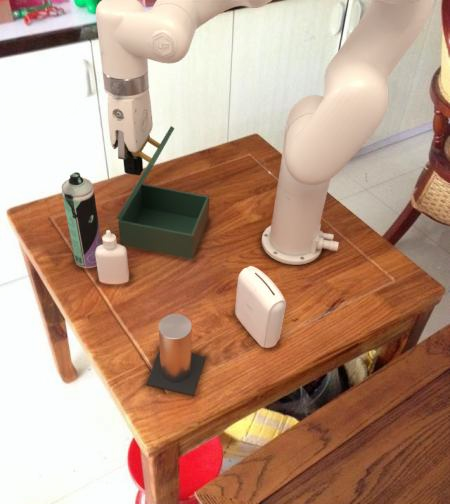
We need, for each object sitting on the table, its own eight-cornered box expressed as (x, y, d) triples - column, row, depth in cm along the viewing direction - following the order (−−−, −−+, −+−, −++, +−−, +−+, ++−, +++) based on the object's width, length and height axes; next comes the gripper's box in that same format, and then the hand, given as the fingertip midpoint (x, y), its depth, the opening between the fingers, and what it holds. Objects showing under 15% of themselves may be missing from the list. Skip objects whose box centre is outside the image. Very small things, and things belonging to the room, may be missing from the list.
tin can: (194, 361, 95) (195, 317, 86) (186, 385, 91) (186, 341, 83) (165, 355, 95) (164, 310, 87) (156, 378, 92) (154, 334, 84)
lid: (174, 128, 106) (153, 114, 105) (153, 165, 97) (130, 151, 96) (141, 182, 117) (122, 170, 116) (119, 220, 108) (98, 208, 107)
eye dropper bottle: (108, 267, 109) (102, 219, 100) (133, 277, 108) (128, 229, 99) (95, 281, 107) (87, 233, 98) (120, 291, 105) (114, 244, 96)
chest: (208, 220, 121) (209, 196, 116) (192, 260, 112) (192, 236, 107) (141, 207, 122) (140, 183, 117) (120, 246, 114) (118, 221, 109)
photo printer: (230, 313, 103) (235, 265, 94) (250, 305, 105) (256, 256, 95) (262, 352, 97) (270, 305, 88) (282, 343, 99) (292, 295, 90)
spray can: (101, 270, 109) (88, 185, 94) (72, 268, 108) (55, 183, 94) (105, 251, 112) (94, 166, 98) (78, 249, 112) (62, 164, 97)
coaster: (205, 357, 96) (205, 356, 96) (193, 396, 91) (193, 395, 90) (160, 347, 97) (160, 346, 97) (146, 385, 91) (146, 384, 91)
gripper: (132, 104, 89) (139, 198, 102) (161, 64, 99) (164, 154, 112) (87, 97, 89) (100, 191, 103) (120, 58, 99) (128, 148, 113)
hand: (133, 171), depth 108 cm, fingers closed
